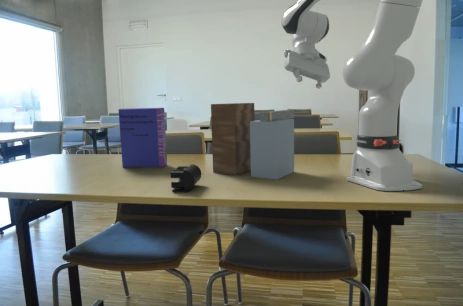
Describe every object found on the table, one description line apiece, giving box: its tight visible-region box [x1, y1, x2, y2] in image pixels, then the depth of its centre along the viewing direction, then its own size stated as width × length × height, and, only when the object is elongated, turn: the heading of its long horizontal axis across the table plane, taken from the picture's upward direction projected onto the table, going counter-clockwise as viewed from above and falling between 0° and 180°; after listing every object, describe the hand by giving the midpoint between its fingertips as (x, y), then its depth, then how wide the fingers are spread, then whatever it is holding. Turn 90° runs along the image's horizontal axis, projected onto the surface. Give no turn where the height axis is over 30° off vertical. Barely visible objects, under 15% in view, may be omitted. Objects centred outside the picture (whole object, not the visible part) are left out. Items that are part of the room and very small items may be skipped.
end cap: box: [170, 164, 202, 193], centre depth 109 cm, size 10×7×7 cm
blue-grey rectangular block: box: [250, 118, 295, 180], centre depth 125 cm, size 14×10×19 cm
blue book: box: [118, 107, 168, 169], centre depth 147 cm, size 17×5×24 cm, turn 84°
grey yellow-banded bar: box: [259, 109, 295, 122], centre depth 128 cm, size 22×4×3 cm, turn 147°
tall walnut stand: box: [210, 102, 256, 176], centre depth 134 cm, size 14×10×25 cm
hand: (309, 84), depth 138 cm, fingers open, 8 cm apart
